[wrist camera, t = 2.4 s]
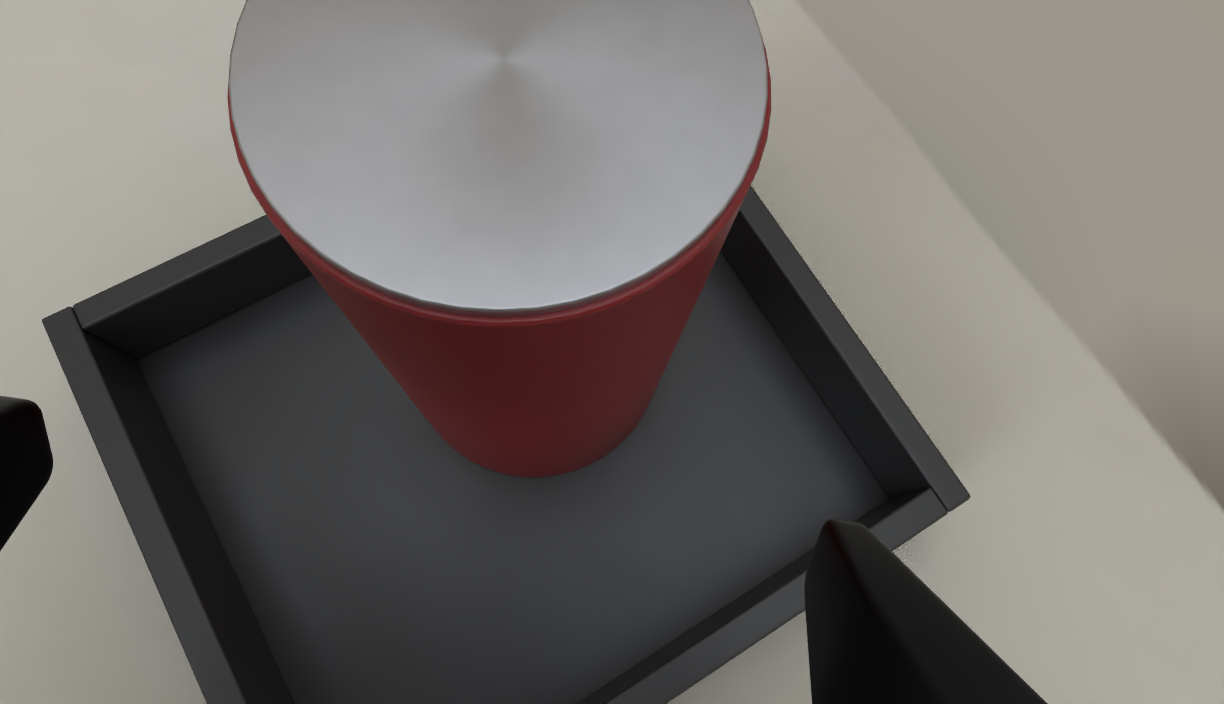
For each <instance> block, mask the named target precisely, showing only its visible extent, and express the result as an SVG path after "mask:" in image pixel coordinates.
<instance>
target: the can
mask: <svg viewBox="0 0 1224 704" xmlns="http://www.w3.org/2000/svg"><path fill="white" fill-rule="evenodd" d="M228 108H229V119H230V130H231V133H232V137H233V141H234V145H235V149H236V153H237V157H238V161H239V163H240V165H241V168H242V170H243V172H244V175H245V177H246V179H247V182H248V184H249V186H250V188H251V191H252V192H253V194H254V196H255V197H256V199H257V200H258V202H259V203H260V205H261V207H262V208H263V210H264V211H265V213H266V215H267V216H268V218H269V219H270V221H271V222H272V223H273V224H274V226H275V227H276V228H277V230H278V231H279V232H280V233H281V235H282V236H283V237H284V238H285V240H286V241H287V242H288V244H289V245H290V246H291V247H292V249H293V250H294V251H295V252H296V254H297V255H298V256H299V258H300V259H301V260H302V261H303V263H304V264H305V265H306V266H307V268H308V269H309V270H310V272H311V273H312V274H313V275H314V277H315V278H316V279H317V281H318V282H319V283H320V284H321V286H322V287H323V288H324V289H325V291H326V292H327V293H328V295H329V296H330V297H331V298H332V300H333V301H334V302H335V303H336V305H337V306H338V307H339V309H340V310H341V311H342V312H343V314H344V315H345V316H346V317H347V319H348V320H349V321H350V323H351V324H352V325H353V326H354V328H355V329H356V330H357V331H358V333H359V334H360V335H361V337H362V338H363V339H364V340H365V342H366V343H367V344H368V345H369V347H370V348H371V349H372V351H373V352H374V353H375V354H376V356H377V357H378V358H379V359H380V361H381V362H382V363H383V365H384V366H385V367H386V368H387V370H388V371H389V372H390V373H391V375H392V376H393V377H394V379H395V380H396V381H397V382H398V384H399V385H400V386H401V387H402V389H403V390H404V391H405V393H406V394H407V395H408V396H409V398H410V399H411V400H412V401H413V403H414V404H415V405H416V407H417V408H418V409H419V410H420V412H421V413H422V414H423V415H424V417H425V418H426V419H427V421H428V422H429V423H430V424H431V426H432V427H433V428H434V429H435V431H436V432H437V433H438V434H439V435H440V436H441V438H442V439H443V440H444V441H445V442H446V443H447V444H449V445H450V446H451V447H452V448H453V449H454V450H455V451H456V452H458V453H459V454H461V455H462V456H464V457H465V458H467V459H468V460H470V461H472V462H474V463H476V464H478V465H480V466H482V467H484V468H487V469H490V470H493V471H496V472H499V473H502V474H507V475H513V476H518V477H548V476H555V475H560V474H565V473H569V472H572V471H575V470H578V469H581V468H584V467H586V466H588V465H590V464H592V463H594V462H596V461H598V460H600V459H601V458H603V457H604V456H605V455H607V454H608V453H610V452H611V451H613V450H614V449H615V448H616V447H617V446H618V445H620V444H621V443H622V442H623V441H624V440H625V439H626V438H627V437H628V436H629V434H630V433H631V432H632V431H633V430H634V429H635V427H636V426H637V424H638V423H639V421H640V420H641V418H642V417H643V415H644V414H645V411H646V409H647V407H648V405H649V403H650V401H651V399H652V397H653V394H654V392H655V390H656V388H657V386H658V384H659V381H660V379H661V377H662V375H663V373H664V371H665V369H666V366H667V364H668V362H669V360H670V358H671V356H672V353H673V351H674V349H675V347H676V345H677V343H678V341H679V338H680V336H681V334H682V332H683V330H684V328H685V325H686V323H687V321H688V319H689V317H690V315H691V313H692V310H693V308H694V306H695V304H696V302H697V300H698V297H699V295H700V293H701V291H702V289H703V287H704V285H705V282H706V280H707V278H708V276H709V274H710V272H711V269H712V267H713V265H714V263H715V261H716V259H717V257H718V254H719V252H720V250H721V248H722V246H723V244H724V241H725V239H726V237H727V235H728V233H729V231H730V229H731V226H732V224H733V222H734V220H735V218H736V216H737V213H738V211H739V209H740V207H741V205H742V203H743V201H744V198H745V196H746V194H747V192H748V190H749V188H750V185H751V183H752V181H753V179H754V177H755V175H756V173H757V170H758V168H759V165H760V161H761V158H762V154H763V151H764V148H765V144H766V141H767V136H768V129H769V121H770V114H771V78H770V72H769V66H768V60H767V54H766V49H765V46H764V43H763V38H762V35H761V32H760V29H759V26H758V23H757V20H756V16H755V13H754V10H753V8H752V6H751V4H750V2H749V0H246V3H245V6H244V8H243V11H242V13H241V16H240V18H239V21H238V23H237V27H236V32H235V36H234V41H233V45H232V49H231V55H230V68H229V83H228Z"/></svg>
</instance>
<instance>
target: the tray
mask: <svg viewBox="0 0 1224 704" xmlns="http://www.w3.org/2000/svg"><path fill="white" fill-rule="evenodd" d="M42 323H43V325H44V327H45V329H46V332H47V334H48V336H49V339H50V341H51V343H52V346H53V348H54V350H55V353H56V355H57V357H58V360H59V362H60V364H61V367H62V369H63V371H64V374H65V376H66V378H67V380H68V383H69V385H70V387H71V390H72V392H73V394H74V397H75V399H76V401H77V404H78V406H79V408H80V411H81V413H82V415H83V418H84V420H85V422H86V424H87V427H88V429H89V431H90V434H91V436H92V438H93V441H94V443H95V445H96V448H97V450H98V452H99V455H100V457H101V459H102V462H103V464H104V466H105V468H106V471H107V473H108V475H109V478H110V480H111V482H112V485H113V487H114V489H115V492H116V494H117V496H118V499H119V501H120V503H121V506H122V508H123V510H124V512H125V515H126V517H127V519H128V522H129V524H130V526H131V529H132V531H133V533H134V536H135V538H136V540H137V543H138V545H139V547H140V550H141V552H142V554H143V556H144V559H145V561H146V563H147V566H148V568H149V570H150V573H151V575H152V577H153V580H154V582H155V584H156V587H157V589H158V591H159V594H160V596H161V598H162V600H163V603H164V605H165V607H166V610H167V612H168V614H169V617H170V619H171V621H172V624H173V626H174V628H175V631H176V633H177V635H178V638H179V640H180V642H181V644H182V647H183V649H184V651H185V654H186V656H187V658H188V661H189V663H190V665H191V668H192V670H193V672H194V675H195V677H196V679H197V682H198V684H199V686H200V688H201V691H202V693H203V695H204V698H205V700H206V702H207V704H667V703H668V702H669V701H671V700H672V699H674V698H675V697H677V696H678V695H680V694H681V693H683V692H684V691H686V690H687V689H689V688H690V687H692V686H693V685H695V684H696V683H698V682H699V681H701V680H702V679H704V678H705V677H707V676H708V675H709V674H711V673H712V672H714V671H715V670H717V669H718V668H720V667H721V666H723V665H724V664H726V663H727V662H729V661H730V660H732V659H733V658H735V657H736V656H738V655H739V654H741V653H742V652H744V651H745V650H747V649H748V648H749V647H751V646H752V645H754V644H755V643H757V642H758V641H760V640H761V639H763V638H764V637H766V636H767V635H769V634H770V633H772V632H773V631H775V630H776V629H778V628H779V627H781V626H782V625H784V624H785V623H786V622H788V621H789V620H791V619H792V618H794V617H795V616H797V615H798V614H800V613H801V612H803V611H804V610H806V609H805V595H804V585H805V577H806V572H807V569H808V566H809V563H810V560H811V557H812V554H813V551H814V548H815V546H816V543H817V540H818V537H819V534H820V531H821V529H822V527H823V525H824V524H825V522H826V521H828V520H830V519H836V520H842V521H849V522H856V523H860V524H863V525H864V526H866V527H867V528H868V529H869V530H870V531H871V532H872V533H873V534H874V535H875V536H876V537H877V538H878V539H879V540H880V541H881V542H882V543H883V544H884V545H885V546H886V547H887V548H888V549H889V550H891V551H893V550H895V549H896V548H898V547H899V546H901V545H902V544H904V543H905V542H906V541H908V540H909V539H911V538H912V537H914V536H915V535H917V534H918V533H920V532H921V531H923V530H924V529H926V528H927V527H929V526H930V525H932V524H933V523H935V522H936V521H938V520H939V519H941V518H942V517H943V516H945V515H946V514H947V513H948V512H950V511H952V510H954V509H955V508H957V507H958V506H960V505H961V504H963V503H964V502H965V501H967V500H968V499H969V498H970V494H969V493H968V491H967V490H966V489H965V487H964V486H963V484H962V483H961V482H960V480H959V479H958V477H957V476H956V474H955V473H954V472H953V470H952V469H951V467H950V466H949V465H948V463H947V462H946V460H945V459H944V458H943V456H942V455H941V453H940V452H939V450H938V449H937V448H936V446H935V445H934V443H933V442H932V441H931V439H930V438H929V436H928V435H927V434H926V432H925V431H924V429H923V428H922V426H921V425H920V424H919V422H918V421H917V419H916V418H915V417H914V415H913V414H912V412H911V411H910V410H909V408H908V407H907V405H906V404H905V402H904V401H903V400H902V398H901V397H900V395H899V394H898V393H897V391H896V390H895V388H894V387H893V386H892V384H891V383H890V381H889V380H888V378H887V377H886V376H885V374H884V373H883V371H882V370H881V369H880V367H879V366H878V364H877V363H876V362H875V360H874V359H873V357H872V356H871V354H870V353H869V352H868V350H867V349H866V347H865V346H864V345H863V343H862V342H861V340H860V339H859V338H858V336H857V335H856V333H855V332H854V330H853V329H852V328H851V326H850V325H849V323H848V322H847V321H846V319H845V318H844V316H843V315H842V314H841V312H840V311H839V309H838V308H837V307H836V305H835V304H834V302H833V301H832V299H831V298H830V297H829V295H828V294H827V292H826V291H825V290H824V288H823V287H822V285H821V284H820V283H819V281H818V280H817V278H816V277H815V275H814V274H813V273H812V271H811V270H810V268H809V267H808V266H807V264H806V263H805V261H804V260H803V259H802V257H801V256H800V254H799V253H798V251H797V250H796V249H795V247H794V246H793V244H792V243H791V242H790V240H789V239H788V237H787V236H786V235H785V233H784V232H783V230H782V229H781V227H780V226H779V225H778V223H777V222H776V220H775V219H774V218H773V216H772V215H771V213H770V212H769V211H768V209H767V208H766V206H765V205H764V203H763V202H762V201H761V199H760V198H759V196H758V195H757V194H756V192H755V191H754V189H753V188H752V187H751V185H750V188H749V190H748V192H747V194H746V196H745V198H744V201H743V203H742V205H741V207H740V209H739V211H738V213H737V216H736V218H735V220H734V222H733V224H732V226H731V229H730V231H729V233H728V235H727V237H726V239H725V241H724V244H723V246H722V248H721V250H720V252H719V254H718V257H717V259H716V261H715V263H714V265H713V267H712V269H711V272H710V274H709V276H708V278H707V280H706V282H705V285H704V287H703V289H702V291H701V293H700V295H699V297H698V300H697V302H696V304H695V306H694V308H693V310H692V313H691V315H690V317H689V319H688V321H687V323H686V325H685V328H684V330H683V332H682V334H681V336H680V338H679V341H678V343H677V345H676V347H675V349H674V351H673V353H672V356H671V358H670V360H669V362H668V364H667V366H666V369H665V371H664V373H663V375H662V377H661V379H660V381H659V384H658V386H657V388H656V390H655V392H654V394H653V397H652V399H651V401H650V403H649V405H648V407H647V409H646V411H645V414H644V415H643V417H642V418H641V420H640V421H639V423H638V424H637V426H636V427H635V429H634V430H633V431H632V432H631V433H630V434H629V436H628V437H627V438H626V439H625V440H624V441H623V442H622V443H621V444H620V445H618V446H617V447H616V448H615V449H614V450H613V451H611V452H610V453H608V454H607V455H605V456H604V457H603V458H601V459H600V460H598V461H596V462H594V463H592V464H590V465H588V466H586V467H584V468H581V469H578V470H575V471H572V472H569V473H565V474H560V475H555V476H548V477H518V476H513V475H507V474H502V473H499V472H496V471H493V470H490V469H487V468H484V467H482V466H480V465H478V464H476V463H474V462H472V461H470V460H468V459H467V458H465V457H464V456H462V455H461V454H459V453H458V452H456V451H455V450H454V449H453V448H452V447H451V446H450V445H449V444H447V443H446V442H445V441H444V440H443V439H442V438H441V436H440V435H439V434H438V433H437V432H436V431H435V429H434V428H433V427H432V426H431V424H430V423H429V422H428V421H427V419H426V418H425V417H424V415H423V414H422V413H421V412H420V410H419V409H418V408H417V407H416V405H415V404H414V403H413V401H412V400H411V399H410V398H409V396H408V395H407V394H406V393H405V391H404V390H403V389H402V387H401V386H400V385H399V384H398V382H397V381H396V380H395V379H394V377H393V376H392V375H391V373H390V372H389V371H388V370H387V368H386V367H385V366H384V365H383V363H382V362H381V361H380V359H379V358H378V357H377V356H376V354H375V353H374V352H373V351H372V349H371V348H370V347H369V345H368V344H367V343H366V342H365V340H364V339H363V338H362V337H361V335H360V334H359V333H358V331H357V330H356V329H355V328H354V326H353V325H352V324H351V323H350V321H349V320H348V319H347V317H346V316H345V315H344V314H343V312H342V311H341V310H340V309H339V307H338V306H337V305H336V303H335V302H334V301H333V300H332V298H331V297H330V296H329V295H328V293H327V292H326V291H325V289H324V288H323V287H322V286H321V284H320V283H319V282H318V281H317V279H316V278H315V277H314V275H313V274H312V273H311V272H310V270H309V269H308V268H307V266H306V265H305V264H304V263H303V261H302V260H301V259H300V258H299V256H298V255H297V254H296V252H295V251H294V250H293V249H292V247H291V246H290V245H289V244H288V242H287V241H286V240H285V238H284V237H283V236H282V235H281V233H280V232H279V231H278V230H277V228H276V227H275V226H274V224H273V223H272V222H271V221H270V219H269V218H268V216H267V215H265V216H262V217H260V218H258V219H256V220H254V221H252V222H250V223H248V224H245V225H243V226H241V227H239V228H237V229H235V230H233V231H230V232H228V233H226V234H224V235H222V236H220V237H218V238H216V239H213V240H211V241H209V242H207V243H205V244H203V245H201V246H198V247H196V248H194V249H192V250H190V251H188V252H186V253H184V254H181V255H179V256H177V257H175V258H173V259H171V260H169V261H166V262H164V263H162V264H160V265H158V266H156V267H154V268H152V269H149V270H147V271H145V272H143V273H141V274H139V275H137V276H134V277H132V278H130V279H128V280H126V281H124V282H122V283H120V284H117V285H115V286H113V287H111V288H109V289H107V290H105V291H102V292H100V293H98V294H96V295H94V296H92V297H90V298H88V299H85V300H83V301H81V302H79V303H77V304H75V305H74V306H73V308H72V307H67V308H65V309H63V310H61V311H59V312H57V313H54V314H52V315H50V316H48V317H46V318H44V319H42Z"/></svg>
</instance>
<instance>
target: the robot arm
mask: <svg viewBox="0 0 1224 704" xmlns="http://www.w3.org/2000/svg"><path fill="white" fill-rule="evenodd" d="M52 468H53V457H52V453H51V448H50V444H49V440H48V436H47V432H46V428H45V423H44V419H43V415H42V412H41V409H40V408H39V407H38V405H37V404H36V403H34V402H32V401H30V400H25V399H19V398H12V397H5V396H0V551H1V549H2V548H3V546H4V545H5V543H6V542H7V540H8V539H9V538H10V536H11V535H12V533H13V532H14V530H15V529H16V527H17V526H18V524H19V523H20V522H21V520H22V519H23V517H24V516H25V514H26V513H27V511H28V510H29V508H30V507H31V506H32V504H33V503H34V501H35V500H36V498H37V497H38V495H39V494H40V493H41V491H42V490H43V488H44V487H45V485H46V484H47V482H48V480H49V478H50V476H51V473H52ZM804 595H805V609H806V623H807V637H808V651H809V665H810V679H811V693H812V704H1047V703H1046V702H1045V701H1044V700H1043V699H1042V698H1041V697H1040V696H1039V695H1038V694H1037V693H1036V692H1035V691H1034V690H1033V689H1032V688H1031V687H1030V686H1029V685H1028V684H1027V683H1026V682H1025V681H1024V680H1023V679H1022V678H1021V677H1020V676H1019V675H1018V674H1017V673H1016V672H1014V671H1013V670H1012V669H1011V668H1010V667H1009V666H1008V665H1007V664H1006V663H1005V662H1004V661H1003V660H1002V659H1001V658H1000V657H999V656H998V655H997V654H996V653H995V652H994V651H993V650H992V649H991V648H990V647H989V646H988V645H987V644H986V643H985V642H984V641H983V640H982V639H981V638H980V637H979V636H978V635H977V634H976V633H975V632H973V631H972V630H971V629H970V628H969V627H968V626H967V625H966V624H965V623H964V622H963V621H962V620H961V619H960V618H959V617H958V616H957V615H956V614H955V613H954V612H953V611H952V610H951V609H950V608H949V607H948V606H947V605H946V604H945V603H944V602H943V601H942V600H941V599H940V598H939V597H938V596H937V595H936V594H935V593H934V592H933V591H931V590H930V589H929V588H928V587H927V586H926V585H925V584H924V583H923V582H922V581H921V580H920V579H919V578H918V577H917V576H916V575H915V574H914V573H913V572H912V571H911V570H910V569H909V568H908V567H907V566H906V565H905V564H904V563H903V562H902V561H901V560H900V559H899V558H898V557H897V556H896V555H895V554H894V553H893V552H892V551H891V550H889V549H888V548H887V547H886V546H885V545H884V544H883V543H882V542H881V541H880V540H879V539H878V538H877V537H876V536H875V535H874V534H873V533H872V532H871V531H870V530H869V529H868V528H867V527H866V526H864V525H863V524H860V523H856V522H849V521H842V520H836V519H830V520H828V521H826V522H825V524H824V525H823V527H822V529H821V531H820V534H819V537H818V540H817V543H816V546H815V548H814V551H813V554H812V557H811V560H810V563H809V566H808V569H807V572H806V577H805V585H804Z"/></svg>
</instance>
